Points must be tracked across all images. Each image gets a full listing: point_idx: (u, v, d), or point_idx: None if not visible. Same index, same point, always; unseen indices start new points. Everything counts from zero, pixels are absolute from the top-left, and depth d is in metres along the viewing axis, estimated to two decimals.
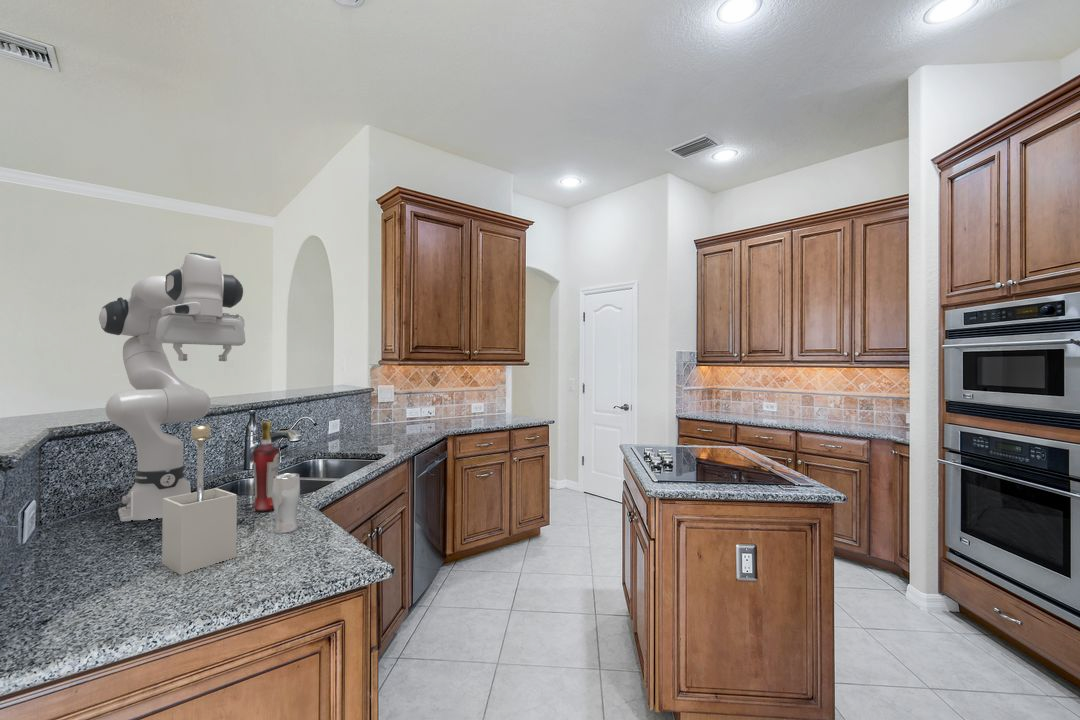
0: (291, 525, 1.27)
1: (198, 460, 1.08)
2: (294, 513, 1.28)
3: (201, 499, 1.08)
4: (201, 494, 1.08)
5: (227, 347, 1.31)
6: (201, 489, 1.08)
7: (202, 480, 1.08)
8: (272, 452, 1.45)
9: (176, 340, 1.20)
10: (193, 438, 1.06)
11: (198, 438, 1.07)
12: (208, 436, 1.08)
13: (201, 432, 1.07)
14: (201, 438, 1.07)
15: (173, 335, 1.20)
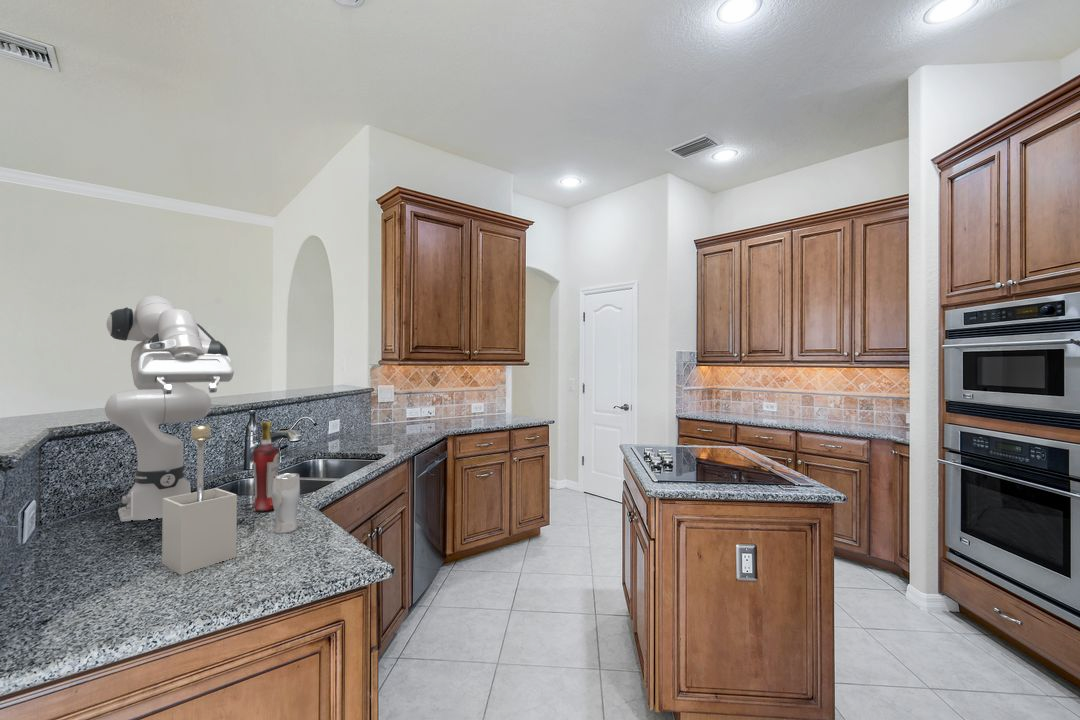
0: (291, 525, 1.27)
1: (198, 460, 1.08)
2: (294, 513, 1.28)
3: (201, 499, 1.08)
4: (201, 494, 1.08)
5: (215, 377, 1.22)
6: (201, 489, 1.08)
7: (202, 480, 1.08)
8: (272, 452, 1.45)
9: (156, 372, 1.14)
10: (193, 438, 1.06)
11: (198, 438, 1.07)
12: (208, 436, 1.08)
13: (201, 432, 1.07)
14: (201, 438, 1.07)
15: (152, 368, 1.14)
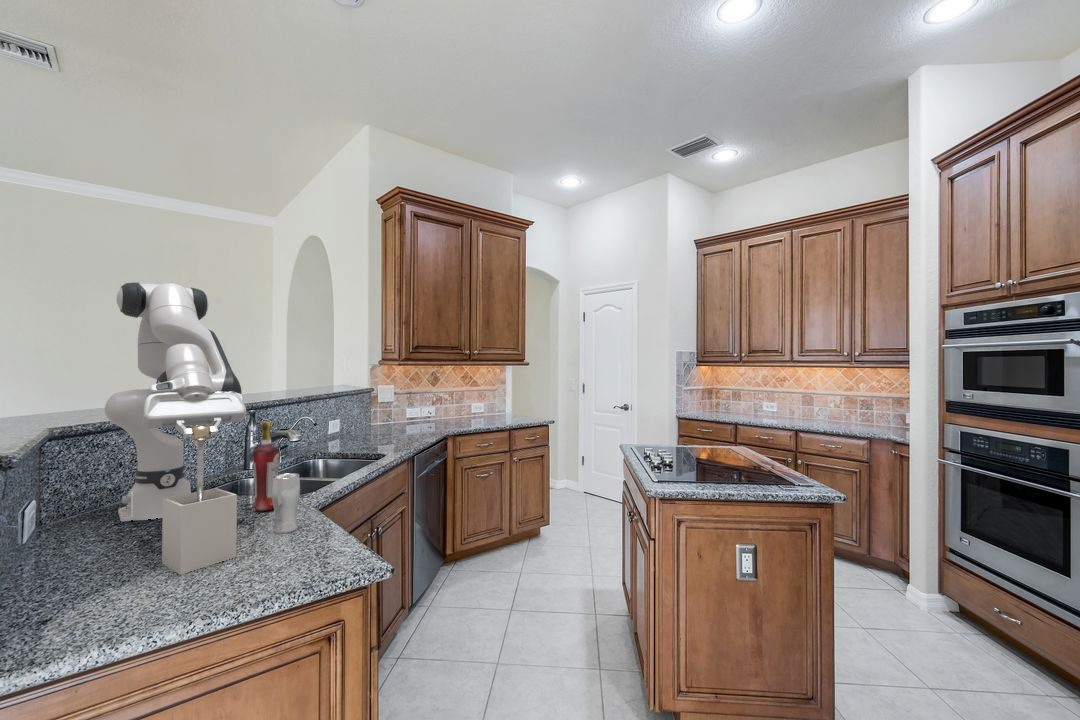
0: (291, 525, 1.27)
1: (198, 460, 1.08)
2: (294, 513, 1.28)
3: (201, 499, 1.08)
4: (201, 494, 1.08)
5: (216, 419, 1.12)
6: (201, 489, 1.08)
7: (202, 480, 1.08)
8: (272, 452, 1.45)
9: (163, 416, 1.05)
10: (193, 438, 1.06)
11: (198, 438, 1.07)
12: (208, 436, 1.08)
13: (201, 432, 1.07)
14: (201, 438, 1.07)
15: (159, 412, 1.05)
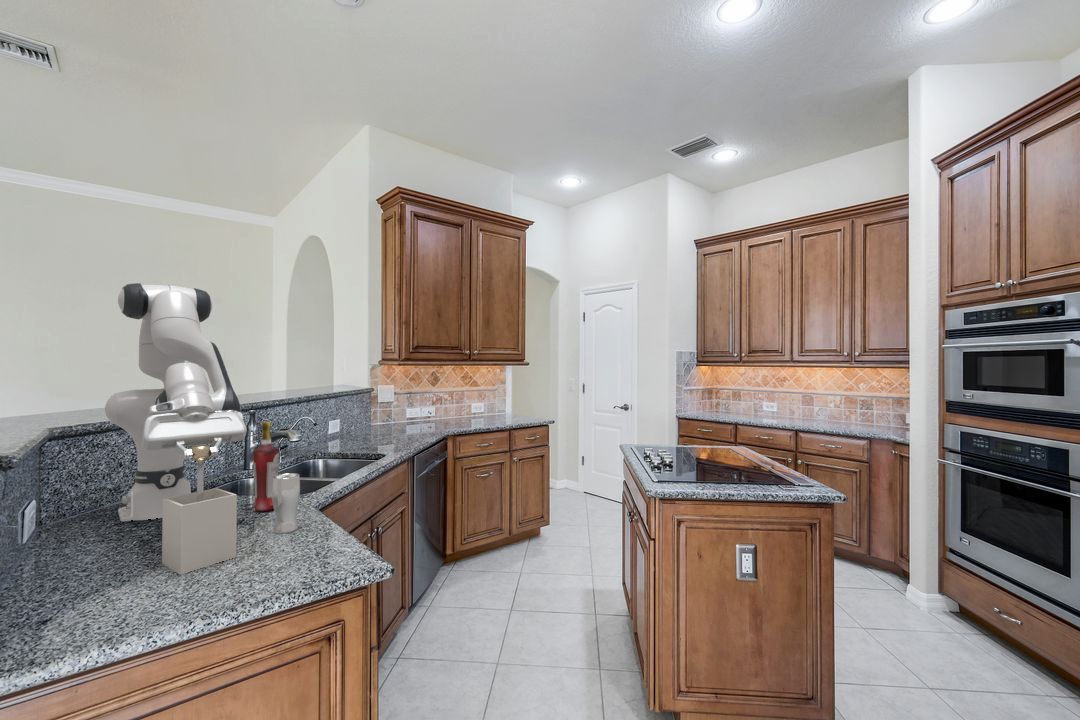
0: (291, 525, 1.27)
1: (198, 480, 1.07)
2: (294, 513, 1.28)
3: None
4: None
5: (216, 439, 1.11)
6: None
7: (202, 500, 1.08)
8: (272, 452, 1.45)
9: (163, 438, 1.04)
10: (193, 458, 1.06)
11: (198, 458, 1.06)
12: (208, 456, 1.08)
13: (201, 452, 1.07)
14: (201, 458, 1.07)
15: (159, 433, 1.04)
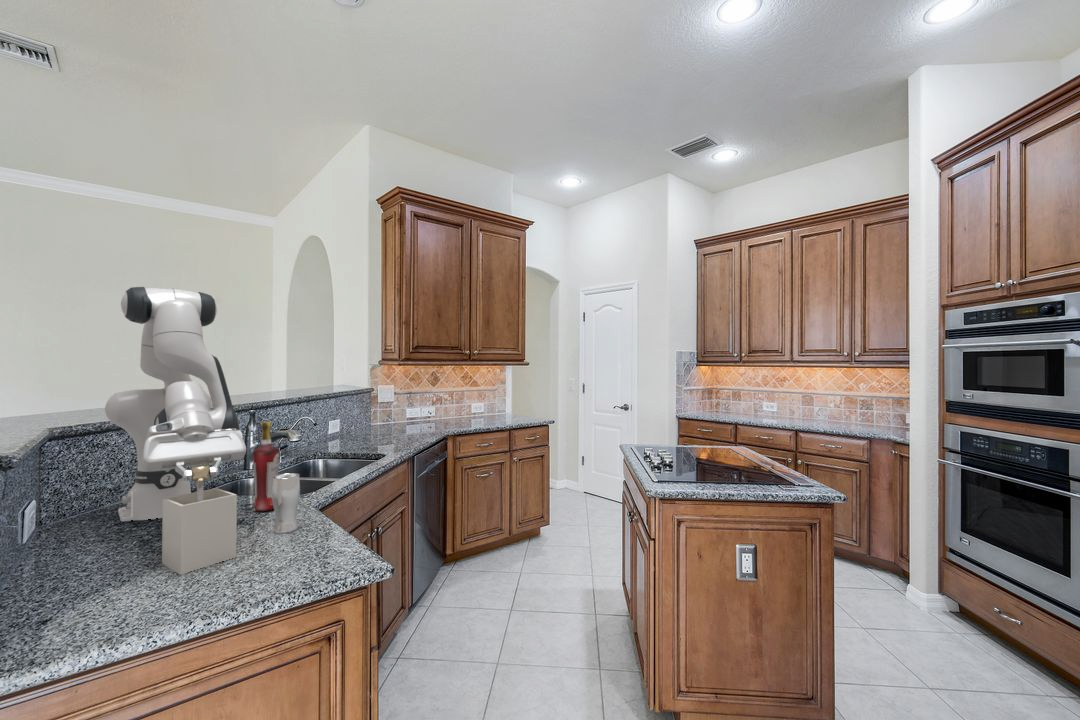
0: (291, 525, 1.27)
1: (198, 500, 1.07)
2: (294, 513, 1.28)
3: None
4: None
5: (215, 459, 1.11)
6: None
7: None
8: (272, 452, 1.45)
9: (163, 459, 1.04)
10: (193, 479, 1.06)
11: (198, 479, 1.06)
12: (208, 476, 1.08)
13: (201, 472, 1.07)
14: (201, 478, 1.07)
15: (158, 454, 1.05)
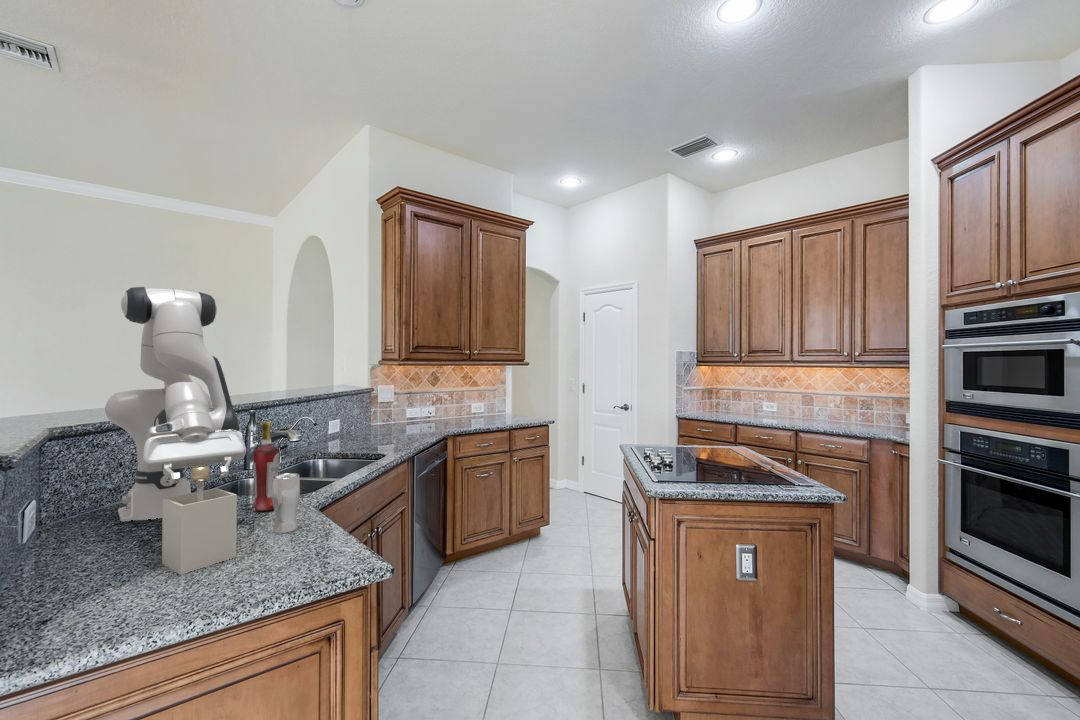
0: (291, 525, 1.27)
1: (198, 501, 1.07)
2: (294, 513, 1.28)
3: None
4: None
5: (226, 458, 1.13)
6: None
7: None
8: (272, 452, 1.45)
9: (162, 460, 1.04)
10: (193, 479, 1.06)
11: (198, 479, 1.06)
12: (208, 477, 1.08)
13: (201, 473, 1.07)
14: (201, 479, 1.07)
15: (158, 455, 1.05)
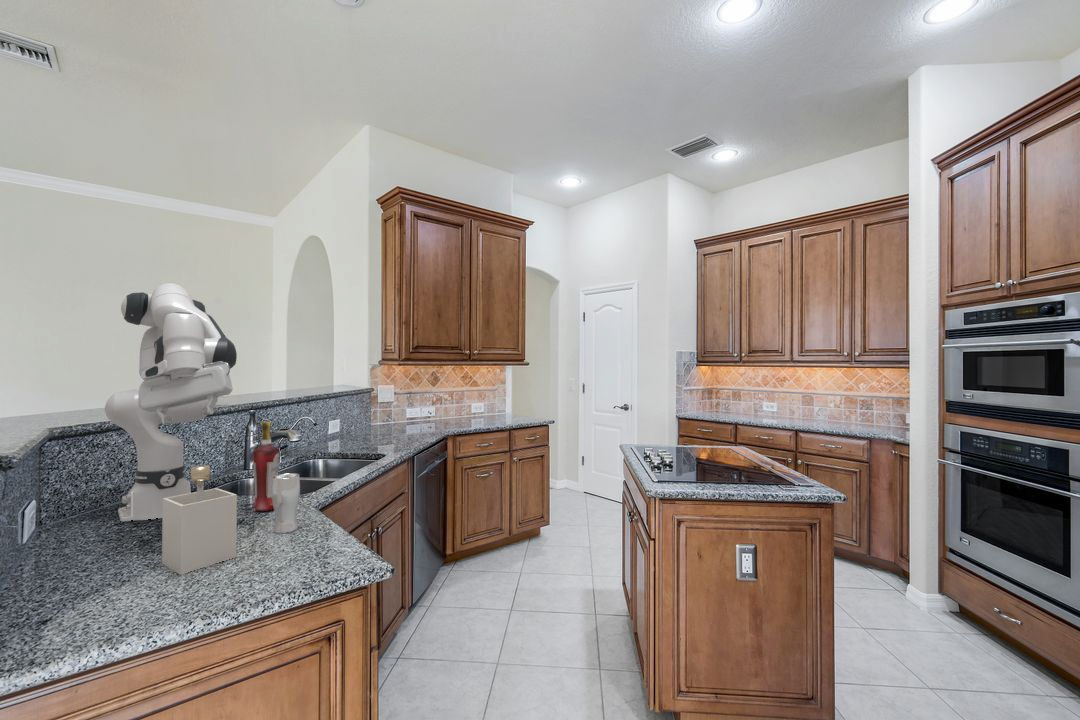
0: (291, 525, 1.27)
1: (198, 501, 1.07)
2: (294, 513, 1.28)
3: None
4: None
5: (208, 398, 1.16)
6: None
7: None
8: (272, 452, 1.45)
9: (153, 404, 1.13)
10: (193, 479, 1.06)
11: (198, 479, 1.06)
12: (208, 477, 1.08)
13: (201, 473, 1.07)
14: (201, 479, 1.07)
15: (150, 400, 1.14)
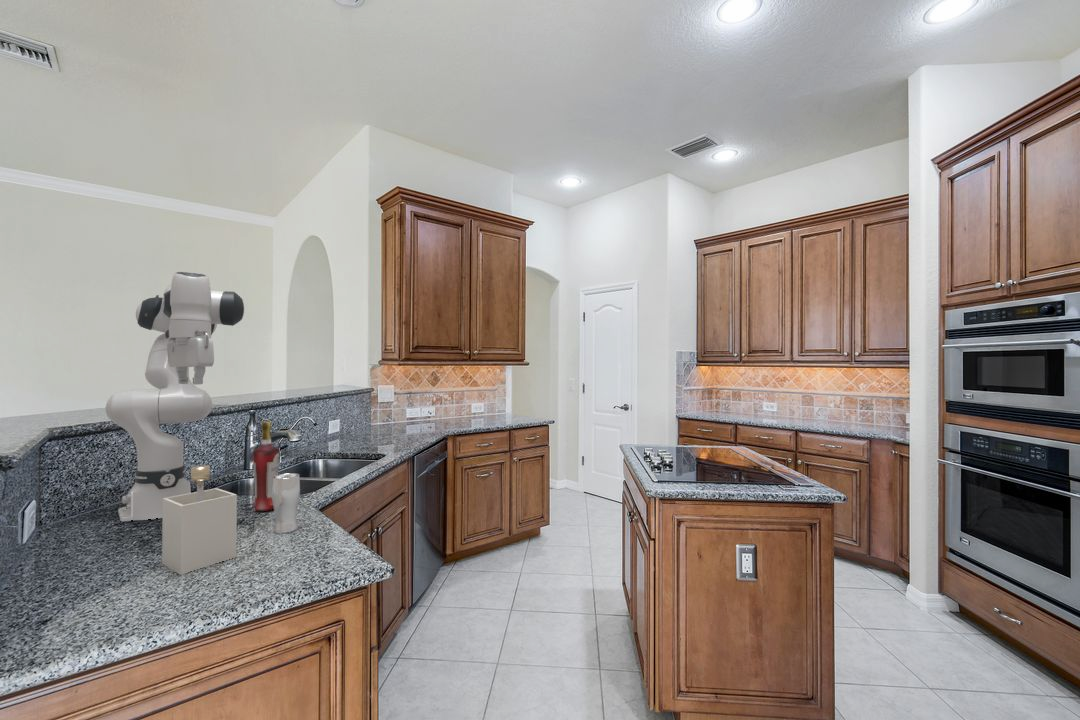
0: (291, 525, 1.27)
1: (198, 501, 1.07)
2: (294, 513, 1.28)
3: None
4: None
5: (194, 369, 1.18)
6: None
7: None
8: (272, 452, 1.45)
9: (172, 364, 1.24)
10: (193, 479, 1.06)
11: (198, 479, 1.06)
12: (208, 477, 1.08)
13: (201, 473, 1.07)
14: (201, 479, 1.07)
15: (171, 360, 1.24)
